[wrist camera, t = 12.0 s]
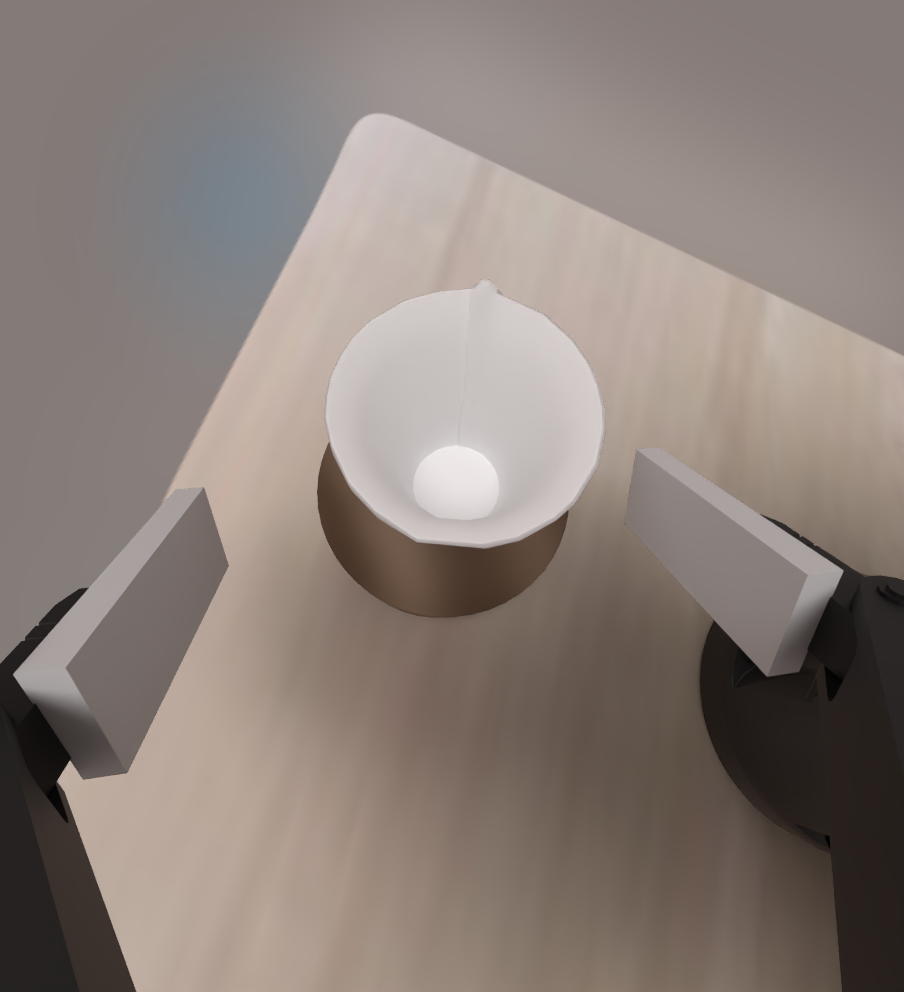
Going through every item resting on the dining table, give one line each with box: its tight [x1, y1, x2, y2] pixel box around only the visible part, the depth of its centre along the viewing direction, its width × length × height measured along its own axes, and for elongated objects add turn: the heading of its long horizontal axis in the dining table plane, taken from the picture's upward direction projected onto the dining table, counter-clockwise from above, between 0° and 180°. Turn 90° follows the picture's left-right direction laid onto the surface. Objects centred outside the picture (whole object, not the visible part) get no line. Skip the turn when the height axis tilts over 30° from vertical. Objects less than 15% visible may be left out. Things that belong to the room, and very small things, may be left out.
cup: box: [325, 279, 606, 549], centre depth 19 cm, size 9×9×10 cm
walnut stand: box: [317, 442, 568, 617], centre depth 26 cm, size 13×13×5 cm
